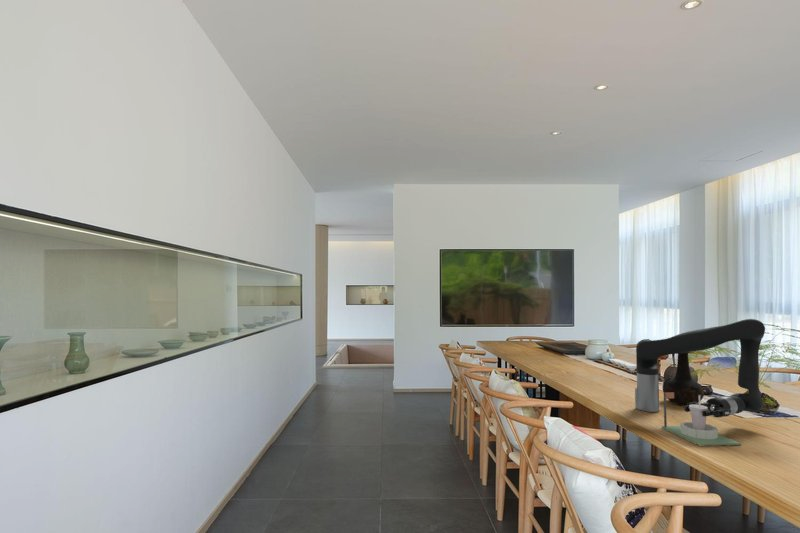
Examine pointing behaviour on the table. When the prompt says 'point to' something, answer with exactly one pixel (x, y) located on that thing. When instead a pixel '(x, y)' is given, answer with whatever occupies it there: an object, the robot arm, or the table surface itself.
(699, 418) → the smoothie
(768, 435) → the table surface
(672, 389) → the glass bottle
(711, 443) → the practice green
